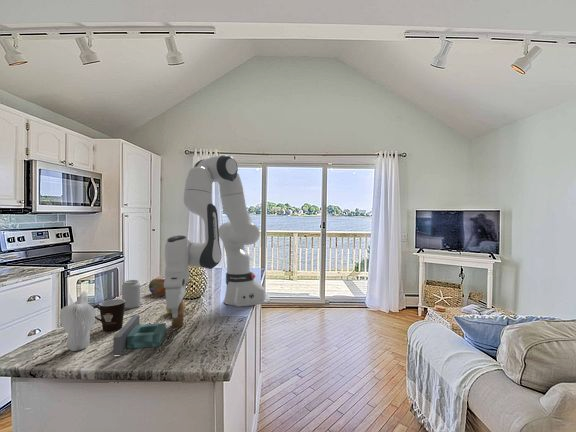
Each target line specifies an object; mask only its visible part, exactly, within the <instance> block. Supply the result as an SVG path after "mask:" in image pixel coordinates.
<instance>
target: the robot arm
mask: <svg viewBox="0 0 576 432" xmlns="http://www.w3.org/2000/svg"><path fill="white" fill-rule="evenodd" d="M238 171H239V169H238V163H237V161H236V159H234V157H233V156H231V155H218V156H211V157H208V158H205V159H204V158H203V159H201V160H199V161H196V163H194V166H193V167H191V168H190V169H189V171H188V173H187V175H186V179H185V186H184V192H183V204H184V206H185V208H187V210H188V211H190V212H191V213H193V214H194V215H197V216H199V218H201V220H203V222H204V234H205V236H204V237H205V241H204V243H203V242H193V241H191V240H189V239H188V238H187V236H185V235H172V236H169V238H166V241H165V245H164V262H165V268H164V279H165V281H164V288H166V295H165V304H166V306H167V308H168V309H171V310H172V314H171V318H172V317H173V318H177V316H178V307H179V305H180V303H181V301H182V299H183V300H184V297H185V295H186V292H187V291H186V284H187V283H189V282H190V269H189V267H197V268H198V267H199V268H202V269H203V268H204V269H208V270H211V269H212V270H213V269H214V268H215V267H216V266H218V264H220V262H221V260H222V249H221V245H220V240H221V241H222V245H223V247H224V251H225V257H226V273H225V284H226V287H225V295H224V299H223V303H224V304H226V305H229V306H230V305H231V306H234V307H239V308H240V307H248V306H249V307H250V306H257V305H266V304H269V303H270V302H271V298H270V296H269V295H268V294H266V290H265V288H264V285H262V284H261V283H259V282H258V281H257V280H256V279H255V278H256V275H255V273H253V271H250V269H251V268H250V267H251V265H250V264H251V263H250V262H251V261H250V260H251V259H250V255H249V253H248V252H247V250H246V247H245V246H250V245H254V244H256V243H257V242H258V241H259V238H260V229H259V227H258V226H257V224H255V223H254V221H253V219H252V218H251V216H250V214H249V211H248V209H247V204H246V200H245V193H244V192H245V191H244V188H243V183H242V180H241V177H240V174H239V173H238ZM216 182H217V183H218V185H219V194H220V199H221V206H222V211H223V213H224V215H226V217H227V218H228V220H229V221H226V222H223V223H221V225H219V217H218V209H217V207H216V205H214V204H213V201H212V189H213V188H212V187H213V186H212V185H213V183H216Z"/></svg>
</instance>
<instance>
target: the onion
mask: <svg viewBox="0 0 576 432" xmlns="http://www.w3.org/2000/svg"><path fill="white" fill-rule="evenodd" d="M186 306H187V305H186V302H185V300H183V313H184V312H185V310H186V308H187V307H186ZM165 310H166V312H167V314H169V315H172V310H171V309H168V308H167V305H166V308H165Z"/></svg>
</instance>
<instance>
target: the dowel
mask: <svg viewBox="0 0 576 432" xmlns="http://www.w3.org/2000/svg"><path fill="white" fill-rule="evenodd" d="M183 301H184V298H183V299H182V301H181V303H180V305H179V307H178V316H177V318H173V317H172V316H171V327H172V328H175V329H176V328H182V327H183V326H184V312H183Z"/></svg>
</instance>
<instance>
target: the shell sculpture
mask: <svg viewBox="0 0 576 432" xmlns="http://www.w3.org/2000/svg"><path fill="white" fill-rule="evenodd" d="M88 297H89V296H88V293H87V291H86V290H83V291H81V292H80V294H79V296H78V298H77V299H76V300H75V302H73V303H72V302H71V303H70V304H68V305H65V306H63V307H62V308H61V309H60V311H59V320H60V325H61V327H62V328H63V330H64V331H65V332H66V333H67V335H68V336H67V340H66V347H67V349H68V350H70V351H72V352H75V351H76V352H77V351H80V350H83V349H86V348H88V347H89V345H90V342H91V341H90V331H91V330H92V328H93V327H94V324H95V322H96V319H95V316H96V317H97V312H96V310H95V308H94V306H92V305H91V304H89V298H88Z"/></svg>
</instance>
